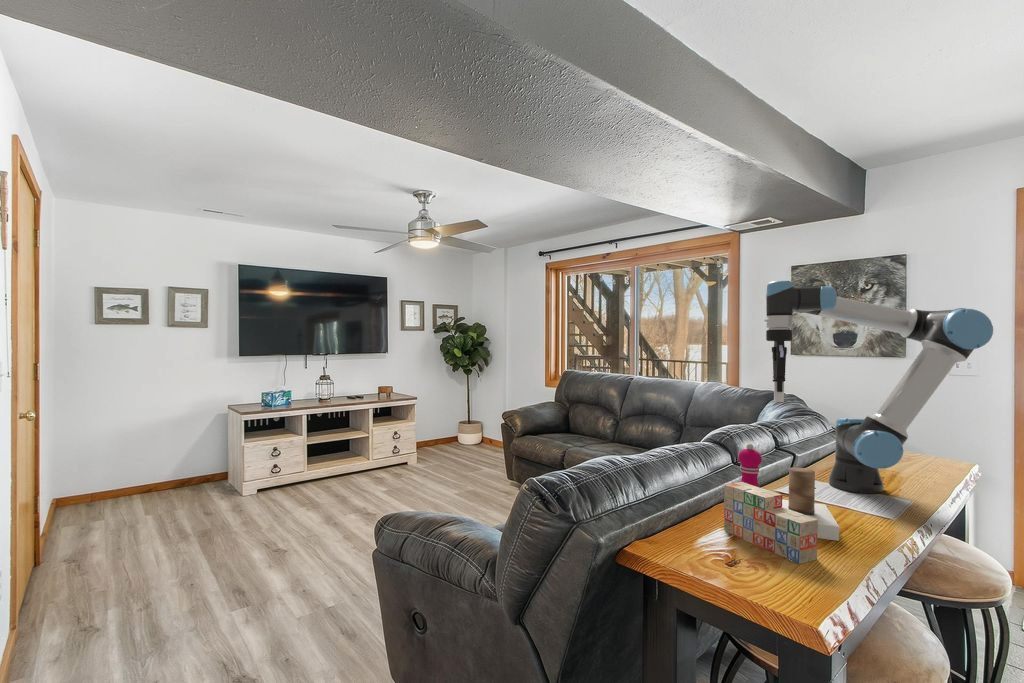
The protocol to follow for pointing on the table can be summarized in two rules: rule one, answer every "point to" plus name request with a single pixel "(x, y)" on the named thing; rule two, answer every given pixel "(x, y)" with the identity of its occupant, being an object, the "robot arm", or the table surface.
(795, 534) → the stack of blocks
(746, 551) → the table surface
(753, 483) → the pepper mill
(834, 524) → the cream board
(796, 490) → the walnut peg
